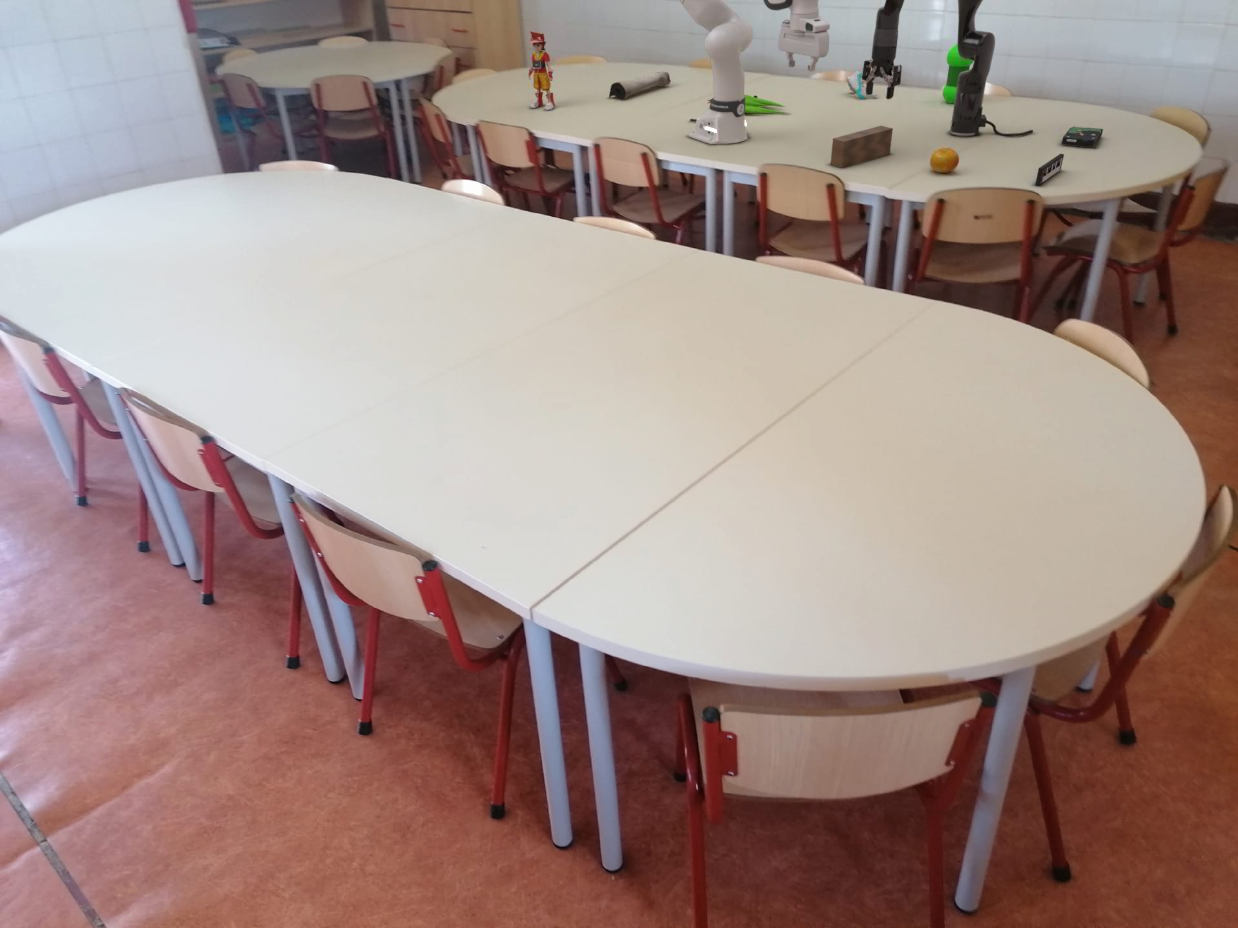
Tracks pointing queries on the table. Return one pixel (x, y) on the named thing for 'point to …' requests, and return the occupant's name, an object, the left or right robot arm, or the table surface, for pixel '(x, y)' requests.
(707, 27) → the left robot arm
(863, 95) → the anatomical model
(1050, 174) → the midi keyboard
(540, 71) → the toy
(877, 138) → the bar
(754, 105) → the toy
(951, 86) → the green tall rounded piece
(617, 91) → the rolled mat
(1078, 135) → the disk drive
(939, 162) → the fruit
